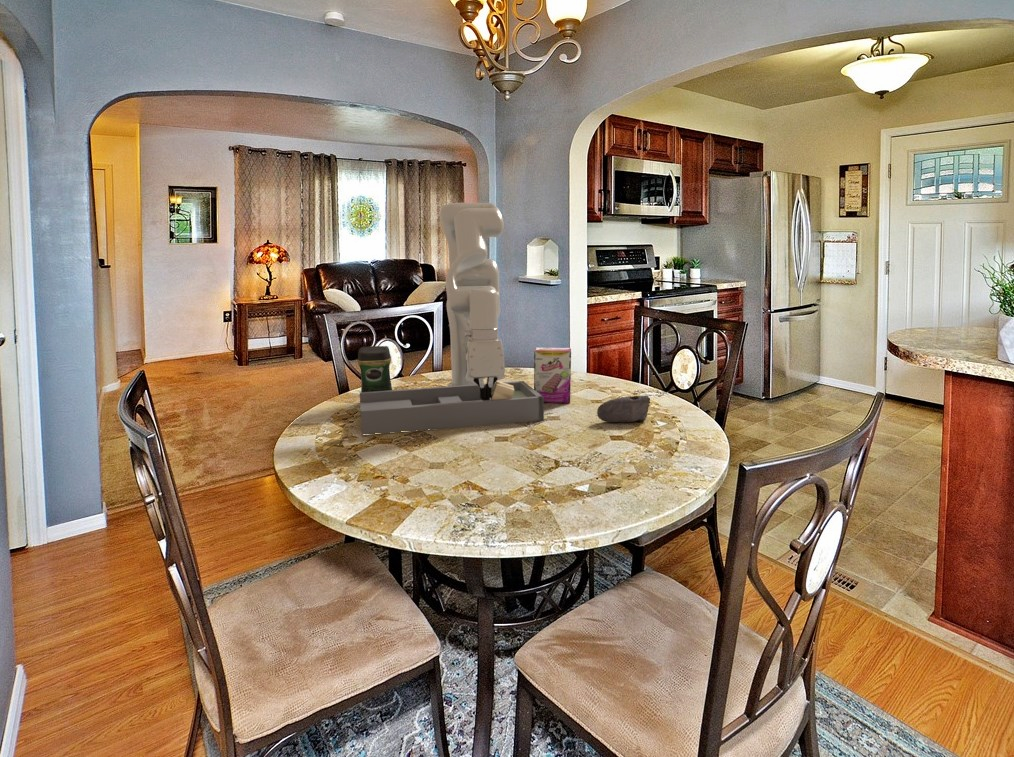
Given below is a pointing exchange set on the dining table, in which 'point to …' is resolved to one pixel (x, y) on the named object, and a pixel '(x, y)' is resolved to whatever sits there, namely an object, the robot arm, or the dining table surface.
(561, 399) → the candy bar box
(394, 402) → the box
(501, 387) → the maple block
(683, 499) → the dining table surface
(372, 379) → the coffee jar
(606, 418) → the perforated stone tool
